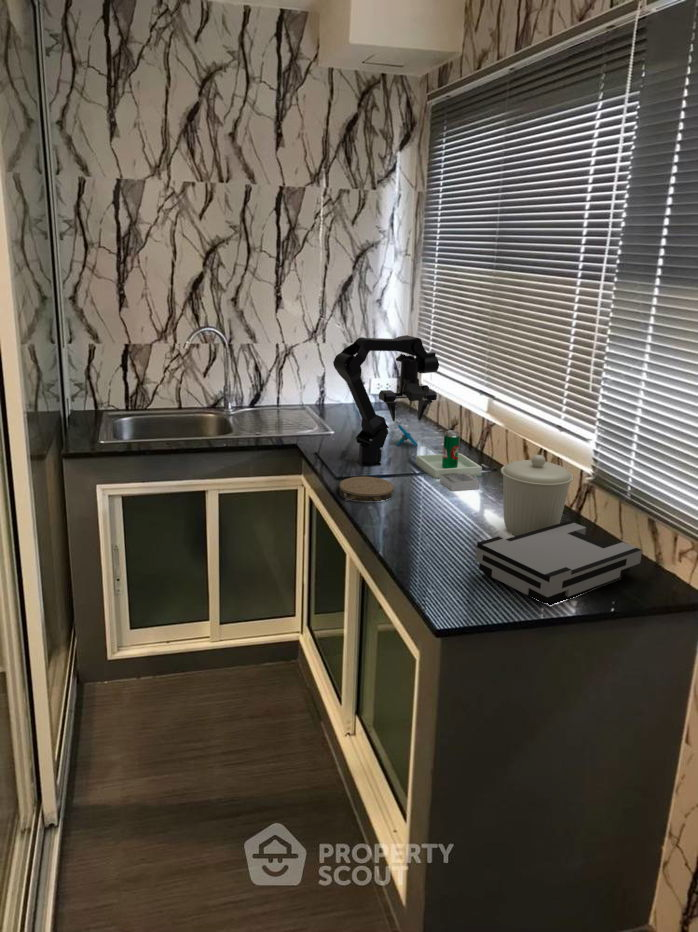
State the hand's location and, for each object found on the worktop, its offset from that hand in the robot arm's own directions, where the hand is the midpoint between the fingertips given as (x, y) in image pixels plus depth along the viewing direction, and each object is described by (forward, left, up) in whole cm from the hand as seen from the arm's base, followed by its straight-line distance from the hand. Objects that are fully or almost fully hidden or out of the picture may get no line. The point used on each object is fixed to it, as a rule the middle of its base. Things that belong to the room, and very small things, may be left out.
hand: (406, 420), depth 257 cm
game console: (+1, -94, -14) cm, 95 cm away
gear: (+7, +15, -13) cm, 21 cm away
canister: (+8, -70, -13) cm, 72 cm away
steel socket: (+6, -31, -13) cm, 34 cm away
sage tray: (+9, -16, -13) cm, 22 cm away
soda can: (+9, -16, -12) cm, 22 cm away
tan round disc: (-25, -32, -14) cm, 43 cm away
